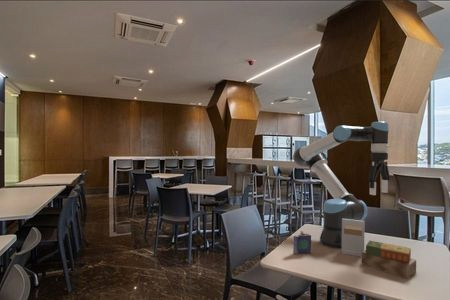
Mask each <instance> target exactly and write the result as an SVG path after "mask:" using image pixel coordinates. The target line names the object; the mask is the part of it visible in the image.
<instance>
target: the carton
mask: <svg viewBox="0 0 450 300" xmlns="http://www.w3.org/2000/svg"><path fill="white" fill-rule="evenodd" d="M365 250H366V254H369V255H373V256H378V257H383V258H387V259H392V260H397V261H401V262H406V263H409V261H410V258H411V254H412V251H411V247H406V246H402V245H395V244H391V243H386V242H385V243H384V242H379V241H375V240H369V241H368V242H367V243H366V245H365Z"/></svg>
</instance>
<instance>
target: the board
mask: <svg viewBox="0 0 450 300" xmlns="http://www.w3.org/2000/svg"><path fill="white" fill-rule="evenodd" d="M365 222H366V221H365V220H361V221H360V220H351V219H342V248H340V249H341V251H340V253H341V254H342V255H347V256H354V257H360V258H361V252H363V251H365V233H366V231H365V230H366V229H365V227H366V226H365V225H366V224H365Z"/></svg>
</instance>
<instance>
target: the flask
mask: <svg viewBox="0 0 450 300" xmlns="http://www.w3.org/2000/svg"><path fill="white" fill-rule="evenodd" d="M311 247H312V235H311V234H310V233H304V231H303V230H300V234H295V235H293V252H292V254H293V255H297V256H299V255H309V254H312V253H311V251H312V249H311Z"/></svg>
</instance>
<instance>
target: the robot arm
mask: <svg viewBox="0 0 450 300" xmlns="http://www.w3.org/2000/svg"><path fill="white" fill-rule="evenodd" d="M348 141H353V142H366V141H367V142H368V141H369V142H370V143H371V146H370V151H371V153H370V159H371V160H372V161H371V162H370V167H369V171H368V175H367V179H366V180H367V182H369V195H371V196H376V195H377V182H376V180H377V177H378V174H379V173H380V176H381V189H380V191H381V193H384V194H386V193H387V194H388V193H389V191H388V187H389V184H388V183H389V181H391V176H390V171H389V166H388V161H387V160H388V159H389V153H388V152H389V148H390V146H389V123H388V122H387V121H373V122H371V125H370V126H351V125H338V126H336V127H335V128H334V129H333V131H332V132H330V133H329V134H327V135H325V136H323V137H321V138H319V139H317V140H316V141H314V142H313V141H312V143H310V144H308V145H305V146H301V147H299V148H297V149H296V150H295V151H294V153H293V156H292V158H293V162H294V163H295V164H296V165H297V166H300V167H304V168H305V167H308V168H309V170H310V171H311V173H315V174H316V176H317V177H318V178H319V180H320V181H321V182H322V184H323V185H324V186H325V188H326V189H327V191H328V193H329V194H330V196H332V198H331V199H328V200H327V199H326V200H325V201H324V203H323V208H322V209H323V219H322V220H323V223H322V224H323V228H322V231H321V234H320V235H319V243H320V244H321V245H323V246H325V247H329V248H333V249H342V219H351V220H360V221H364V220H365V219H366V218H367V216H368V207H367V204H366V203H365V202H364V201H363V200H361V199H357V198H356V197H355V196H354V194H352V193H349V192H348V191H347V189H346V188H345V187H344V185H343V184H342V183H341V181H340V179H338V176H336V174H334V172H333V171H332V170H331V168H330V167H329V166H328V158H327V157H328V156H327V153H326V151H328V150H331V149H333V148H335V147H337V146H339V145H340V144H343V143H345V142H348Z"/></svg>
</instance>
